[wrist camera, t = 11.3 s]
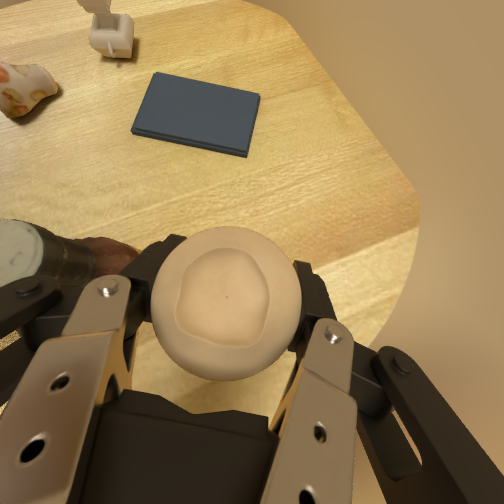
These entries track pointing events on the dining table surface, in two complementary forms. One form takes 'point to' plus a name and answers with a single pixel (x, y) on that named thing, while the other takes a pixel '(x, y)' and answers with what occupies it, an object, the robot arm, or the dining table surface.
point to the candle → (226, 303)
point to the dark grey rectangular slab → (197, 114)
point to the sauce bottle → (58, 255)
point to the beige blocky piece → (109, 29)
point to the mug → (23, 88)
